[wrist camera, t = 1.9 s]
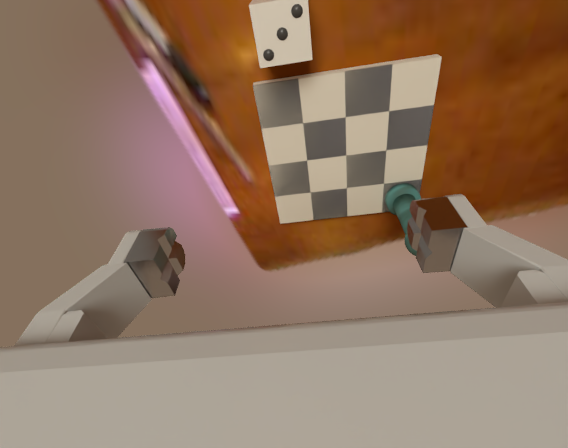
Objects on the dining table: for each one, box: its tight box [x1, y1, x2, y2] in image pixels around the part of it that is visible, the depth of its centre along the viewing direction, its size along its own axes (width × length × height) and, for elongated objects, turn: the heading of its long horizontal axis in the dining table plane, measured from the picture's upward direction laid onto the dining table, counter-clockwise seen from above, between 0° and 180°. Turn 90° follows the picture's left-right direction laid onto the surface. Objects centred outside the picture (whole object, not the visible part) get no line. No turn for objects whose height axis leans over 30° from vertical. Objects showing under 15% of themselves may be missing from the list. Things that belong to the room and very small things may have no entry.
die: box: [249, 0, 313, 68], centre depth 30 cm, size 5×5×5 cm
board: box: [253, 54, 442, 224], centre depth 40 cm, size 20×20×1 cm
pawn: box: [385, 183, 421, 256], centre depth 40 cm, size 4×4×11 cm
